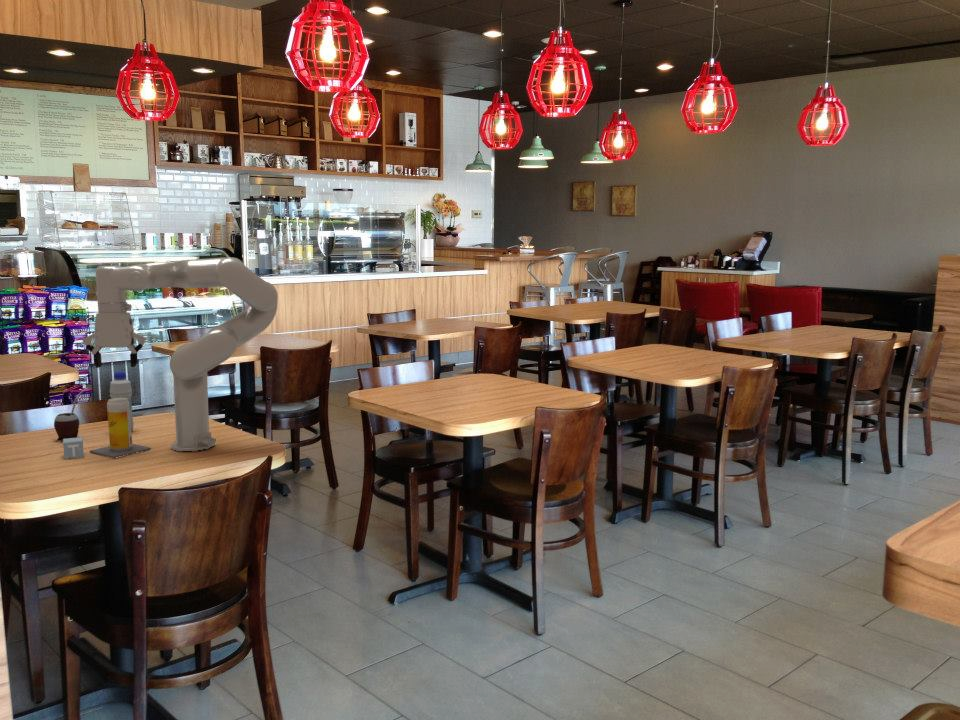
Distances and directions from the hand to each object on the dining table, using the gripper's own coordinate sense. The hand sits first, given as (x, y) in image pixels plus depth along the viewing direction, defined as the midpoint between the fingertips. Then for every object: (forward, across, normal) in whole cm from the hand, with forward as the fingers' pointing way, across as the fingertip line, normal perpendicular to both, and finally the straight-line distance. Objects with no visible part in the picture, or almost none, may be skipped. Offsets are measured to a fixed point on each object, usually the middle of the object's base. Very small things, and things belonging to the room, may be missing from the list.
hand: (116, 366), depth 236 cm
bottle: (+26, +6, -24) cm, 36 cm away
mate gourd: (+26, +20, -17) cm, 37 cm away
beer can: (+25, 0, 0) cm, 25 cm away
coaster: (+25, 0, 0) cm, 25 cm away
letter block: (+26, +12, +4) cm, 29 cm away
